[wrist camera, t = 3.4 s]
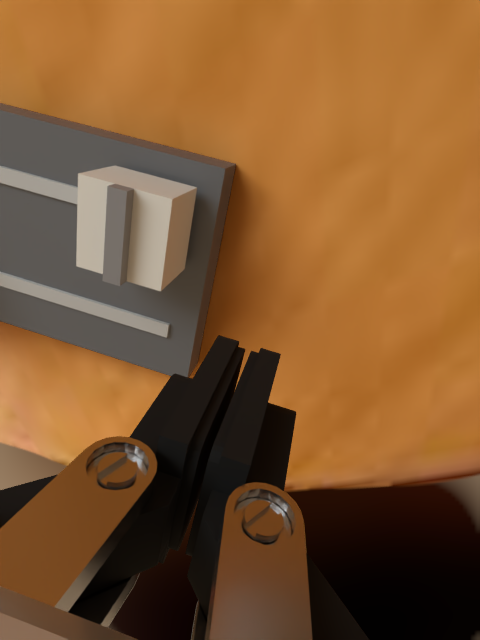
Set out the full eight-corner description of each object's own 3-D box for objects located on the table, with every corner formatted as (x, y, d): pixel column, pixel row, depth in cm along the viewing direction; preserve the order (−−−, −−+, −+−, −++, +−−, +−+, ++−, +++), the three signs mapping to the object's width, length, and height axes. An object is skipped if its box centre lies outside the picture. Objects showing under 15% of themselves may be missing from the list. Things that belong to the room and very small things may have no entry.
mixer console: (236, 163, 20) (224, 169, 18) (197, 363, 26) (185, 382, 24) (-118, 72, 22) (-162, 68, 21) (-82, 275, 28) (-113, 286, 26)
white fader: (197, 187, 19) (166, 202, 16) (184, 268, 21) (155, 296, 17) (115, 165, 19) (69, 175, 16) (110, 247, 21) (68, 270, 18)
